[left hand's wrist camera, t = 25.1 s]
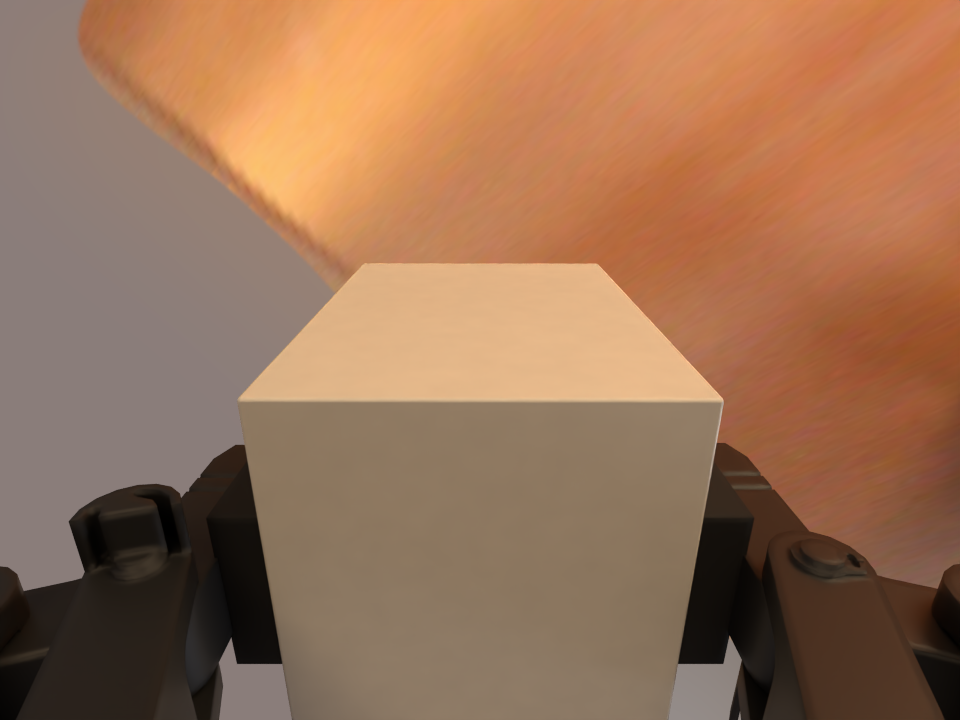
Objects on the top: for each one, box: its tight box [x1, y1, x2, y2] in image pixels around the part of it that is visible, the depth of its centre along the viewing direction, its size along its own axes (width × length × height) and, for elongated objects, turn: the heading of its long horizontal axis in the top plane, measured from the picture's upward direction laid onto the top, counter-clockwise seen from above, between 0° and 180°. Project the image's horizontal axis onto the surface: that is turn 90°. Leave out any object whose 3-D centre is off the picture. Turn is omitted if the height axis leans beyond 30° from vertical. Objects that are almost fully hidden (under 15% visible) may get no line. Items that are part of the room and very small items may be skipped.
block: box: [237, 264, 724, 720], centre depth 12 cm, size 6×7×8 cm
